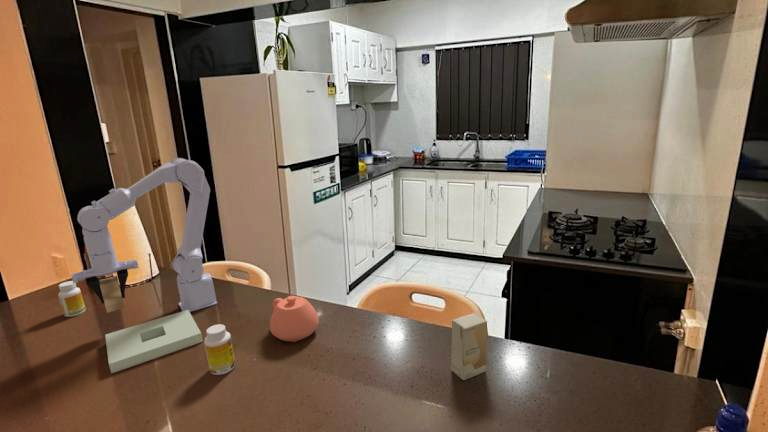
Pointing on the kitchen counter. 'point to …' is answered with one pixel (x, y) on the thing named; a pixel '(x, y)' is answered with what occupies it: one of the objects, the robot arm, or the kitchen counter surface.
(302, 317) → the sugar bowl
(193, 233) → the robot arm
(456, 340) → the skincare box
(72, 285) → the supplement bottle
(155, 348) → the socket board
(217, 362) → the supplement bottle
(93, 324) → the kitchen counter surface
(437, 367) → the kitchen counter surface
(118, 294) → the oak peg
